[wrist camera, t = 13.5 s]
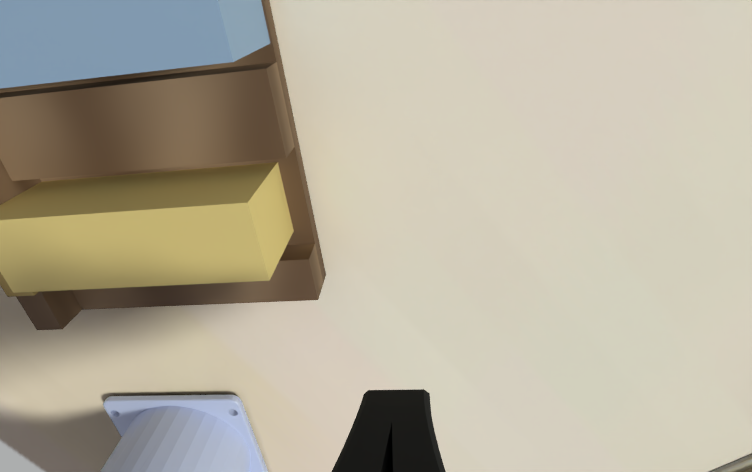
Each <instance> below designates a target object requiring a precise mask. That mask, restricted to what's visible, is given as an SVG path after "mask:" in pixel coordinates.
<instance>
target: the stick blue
mask: <svg viewBox="0 0 752 472" xmlns="http://www.w3.org/2000/svg"><path fill="white" fill-rule="evenodd" d="M268 44H270V39H269V34H268V30H267V25H266V20H265V16H264V11H263V6H262V2H261V0H0V89H1V88H9V87H18V86H27V85H36V84H45V83H53V82H62V81H71V80H80V79H89V78H97V77H106V76H115V75H124V74H133V73H141V72H150V71H159V70H168V69H176V68H185V67H194V66H203V65H212V64H220V63H229V62H235V61H237V60H239V59H240V58H242V57H244V56H246V55H248V54H250V53H252V52H254V51H256V50H258V49H260V48H262V47H264V46H266V45H268Z"/></svg>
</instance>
